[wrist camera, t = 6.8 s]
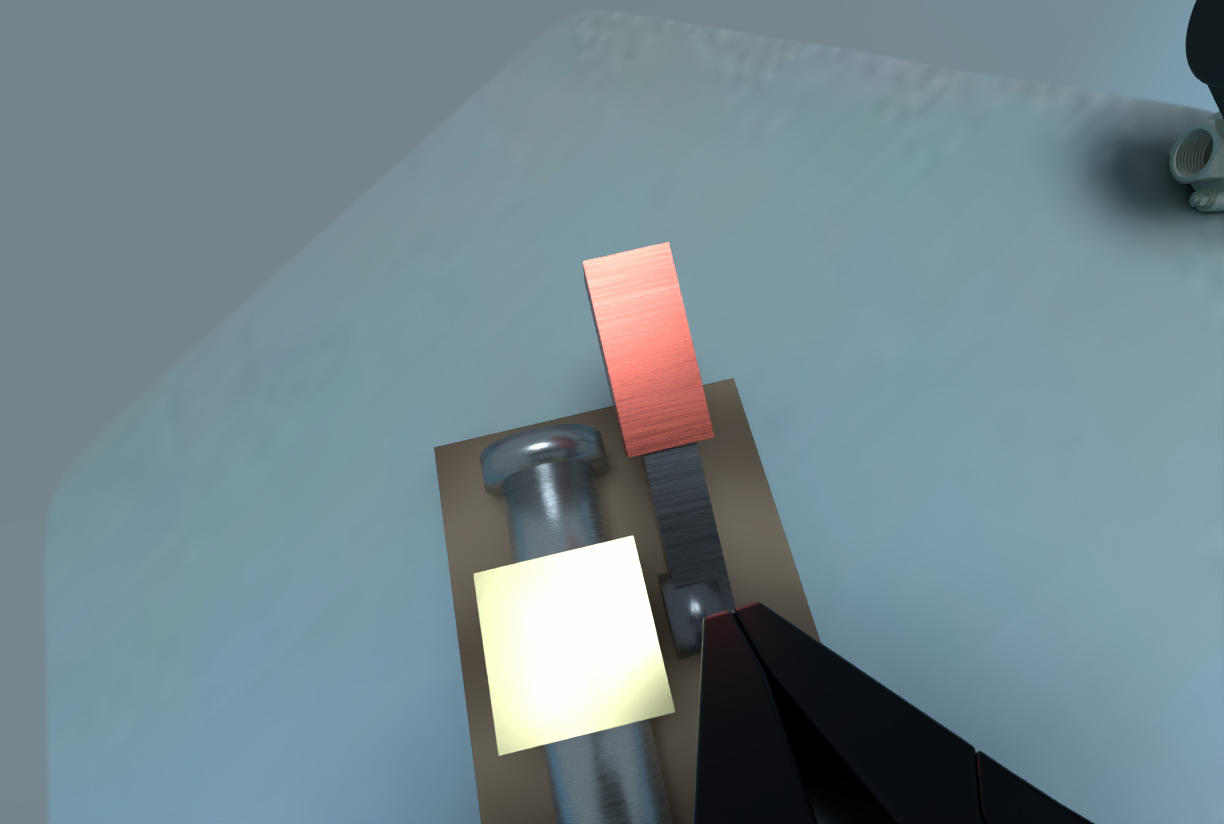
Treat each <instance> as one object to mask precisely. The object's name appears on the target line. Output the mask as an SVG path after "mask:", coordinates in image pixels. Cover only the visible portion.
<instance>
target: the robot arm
mask: <svg viewBox="0 0 1224 824" xmlns="http://www.w3.org/2000/svg"><path fill="white" fill-rule="evenodd" d="M693 824H1094V823H1093V822H1091V821H1089V820H1088V819H1086V818H1084V817H1083V816H1081V815H1079V814H1077V813H1076V812H1074V811H1072V810H1071V809H1069V808H1067V807H1066V806H1064V805H1062V804H1061V803H1059V802H1058V801H1056V800H1054V799H1053V798H1051V797H1050V796H1048V795H1047V794H1045V793H1044V792H1042V791H1041V790H1039V789H1037V788H1036V787H1034V786H1033V785H1031V784H1030V783H1028V782H1027V781H1025V780H1024V779H1022V778H1020V777H1019V776H1017V775H1016V774H1014V773H1013V772H1011V771H1010V770H1008V769H1007V768H1005V767H1004V766H1002V765H1001V764H999V763H998V762H996V761H995V760H993V759H992V758H990V757H989V756H988V755H986V754H985V753H983V752H981V751H978V752H977V753H976V751H975V748H974V746H972V745H971V744H969V743H968V742H966V741H965V740H964V739H962V738H961V737H959V736H958V735H956V734H955V733H953V732H952V731H950V730H949V729H947V728H946V727H944V726H943V725H941V724H940V723H938V722H937V721H935V720H934V719H933V718H931V717H930V716H928V715H927V714H925V713H924V712H922V711H921V710H919V709H918V708H916V707H915V706H913V705H912V704H910V703H909V702H907V701H906V700H904V699H903V698H902V697H900V696H899V695H897V694H896V693H894V692H893V691H891V690H890V689H888V688H887V687H885V686H884V685H882V684H881V683H879V682H878V681H876V680H875V679H873V678H872V677H870V676H869V675H868V674H866V673H865V672H863V671H862V670H860V669H859V668H857V667H856V666H854V665H853V664H851V663H850V662H848V661H847V660H845V659H844V658H842V657H841V656H839V655H838V654H837V653H835V652H834V651H832V650H831V649H829V648H828V647H826V646H825V645H823V644H822V643H820V642H819V641H817V640H816V639H814V638H813V637H811V636H810V635H808V634H807V633H805V632H804V631H803V630H801V629H800V628H798V627H797V626H795V625H794V624H792V623H791V622H789V621H788V620H786V619H785V618H783V617H782V616H780V615H779V614H777V613H776V612H774V611H773V610H772V609H770V608H769V607H767V606H766V605H764V604H763V603H761V602H752V603H749V604H745V605H742V606H739V607H736V608H734V609H733V611H732V612H731V611H729V610H725V611H721V612H718V613H714V614H711V615H708V616H706V617H705V618H704V620H703V635H702V654H701V673H700V693H699V712H698V731H697V751H696V770H695V789H694V809H693Z"/></svg>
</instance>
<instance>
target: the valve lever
mask: <svg viewBox="0 0 1224 824" xmlns="http://www.w3.org/2000/svg"><path fill="white" fill-rule="evenodd" d="M583 269H584V281H585V286H586V290H587V294H588V299H589V303H590V307H591V312H592V316H593V320H594V325H595V329H596V333H597V337H598V342H599V346H600V350H601V355H602V359H603V363H604V367H605V372H606V376H607V380H608V385H609V389H610V393H611V398H612V402H613V406H614V410H615V415H616V419H617V423H618V428H619V432H620V436H621V441H622V445H623V449H624V453H625V454H626V455H627V457H628V458H629V457H633V456H637V455H640V456H641V461H642V465H643V469H644V474H645V478H646V482H647V486H648V491H649V495H650V499H651V504H652V508H653V512H654V516H655V521H656V525H657V529H658V534H659V538H660V542H661V546H662V551H663V555H664V559H665V564H666V568H667V573H662V574H658V575H657V576H658V582H659V587H660V592H661V597H662V601H663V605H664V610H665V614H666V618H667V622H668V626H669V630H670V634H671V637H672V641H673V645H674V648H675V652H676V655H677V658H678V660H682V659H686V658H690V657H694V656H698V655H701V654H702V635H703V620H704V618H705V617H706V616H708V615H711V614H714V613H718V612H721V611H725V610H729V611H732V610H733V609H734V608H736V607H735V603H734V599H733V595H732V590H731V586H730V582H729V578H728V573H727V569H726V565H725V560H724V556H723V552H722V548H721V543H720V539H719V535H718V531H717V526H716V522H715V518H714V514H713V509H712V505H711V501H710V496H709V492H708V488H707V484H706V479H705V475H704V471H703V467H702V462H701V458H700V454H699V450H698V445H697V441H701V440H706V439H710V438H714V433H713V428H712V424H711V420H710V416H709V411H708V407H707V403H706V399H705V394H704V390H703V386H702V381H701V377H700V373H699V369H698V364H697V360H696V356H695V352H694V347H693V343H692V339H691V335H690V330H689V326H688V322H687V318H686V313H685V309H684V305H683V301H682V296H681V292H680V288H679V284H678V279H677V275H676V271H675V266H674V262H673V258H672V254H671V249H670V245H669V242H667V243H663V244H658V245H654V246H649V247H645V248H640V249H636V250H632V251H627V252H623V253H618V254H614V255H609V256H605V257H600V258H596V259H592V260H587V261H583Z"/></svg>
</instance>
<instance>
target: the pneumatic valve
mask: <svg viewBox="0 0 1224 824" xmlns="http://www.w3.org/2000/svg"><path fill="white" fill-rule="evenodd" d="M1186 57H1187V61H1188V65H1189V67H1190V69H1191V71H1192V73H1193V74H1194V75H1195V77H1196V78H1197V79H1199V80H1200V81H1201V82H1203V83H1205V84H1207V85H1208V87H1209V89H1210V91H1211V93H1212V95H1213V97H1214V100H1215V102H1216V104H1217V106H1218V108H1219V110H1220V111H1219V112H1217V113H1216V114H1215V115H1214V116H1212V117H1211V118H1210V119H1209V120H1208V121H1204V122H1200V123H1197V124H1194V125H1192V126H1190V127H1188V128H1187V129H1186V130H1185V131H1184V132H1183V133H1182V134H1181V135H1180V137H1179V138H1178V139H1177V141H1176V143H1175V144H1174V145H1173V146H1172V148H1171V149H1170V151H1169V154H1170V169H1171V172H1172V174H1173V176H1174V177H1175V179H1176V180H1177V181H1178V182H1179V183H1180V184H1191V186H1192V187H1193V188H1194V190H1195V191H1196V192H1194V193H1193V194H1192V195H1191V197H1190V198H1189V202H1190V204H1191V206H1192V207H1196V209H1197V210H1199V211H1201V212H1203V211H1224V0H1196V3H1195V5H1194V8H1193V10H1192V14H1191V17H1190V20H1189V24H1188V28H1187V34H1186Z"/></svg>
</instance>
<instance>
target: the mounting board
mask: <svg viewBox="0 0 1224 824" xmlns="http://www.w3.org/2000/svg"><path fill="white" fill-rule="evenodd" d="M702 386H703V390H704V394H705V399H706V403H707V407H708V411H709V416H710V420H711V424H712V428H713V433H714V438H710V439H706V440H701V441H697V445H698V450H699V454H700V458H701V462H702V467H703V471H704V475H705V479H706V484H707V488H708V492H709V496H710V501H711V505H712V509H713V514H714V518H715V522H716V526H717V531H718V535H719V539H720V543H721V548H722V552H723V556H724V560H725V565H726V569H727V573H728V578H729V582H730V586H731V590H732V595H733V599H734V603H735V607H739V606H742V605H745V604H749V603H752V602H761V603H763V604H764V605H766V606H767V607H769V608H770V609H772V610H773V611H774V612H776V613H777V614H779V615H780V616H782V617H783V618H785V619H786V620H788V621H789V622H791V623H792V624H794V625H795V626H797V627H798V628H800V629H801V630H803V631H804V632H805V633H807V634H808V635H810V636H811V637H813V638H814V639H816V640H817V641H819V642H820V639H819V636H818V633H817V630H816V627H815V624H814V621H813V618H812V615H811V612H810V609H809V606H808V603H807V600H806V596H805V593H804V590H803V587H802V584H801V581H800V578H799V575H798V572H797V569H796V566H795V563H794V560H793V557H792V554H791V551H790V548H789V545H788V542H787V539H786V536H785V533H784V530H783V527H782V524H781V521H780V518H779V515H778V512H777V509H776V506H775V503H774V500H773V497H772V493H771V490H770V487H769V484H768V481H767V478H766V475H765V472H764V469H763V466H762V463H761V460H760V457H759V454H758V451H757V448H756V445H755V442H754V439H753V436H752V433H751V430H750V427H749V424H748V421H747V418H746V415H745V412H744V409H743V406H742V403H741V400H740V397H739V393H738V390H737V387H736V384H735V381H734V378H732V379H727V380H723V381H719V382H715V383H710V384H706V385H702ZM557 424H580V425H586V426H590V427H593V428H596V429H597V430H599V431H600V432H601V435H602V438H603V443H604V447H605V451H606V455H607V460H608V468H607V470H606V471H605V472H604V473H603V474H602V475H600V476H599V477H597V478H596V482H597V486H598V491H599V495H600V500H601V504H602V509H603V513H604V517H605V522H606V526H607V531H608V535H609V540H610V541H612V540H616V539H621V538H625V537H629V536H633V537H634V541H635V545H636V549H637V554H638V558H639V562H640V566H641V570H642V574H643V579H644V583H645V587H646V591H647V595H648V600H649V604H650V608H651V612H652V616H653V621H654V625H655V629H656V633H657V637H658V642H659V646H660V650H661V654H662V658H663V662H664V667H665V671H666V675H667V679H668V683H669V688H670V692H671V696H672V700H673V704H674V709H675V712H674V713H670V714H666V715H662V716H658V717H654V718H650V723H651V727H652V732H653V736H654V741H655V745H656V750H657V754H658V759H659V763H660V768H661V772H662V777H663V781H664V786H665V790H666V795H667V799H668V803H669V808H670V812H671V817H672V821H673V824H693V809H694V789H695V770H696V751H697V731H698V712H699V693H700V673H701V655H698V656H694V657H690V658H686V659H682V660H678V658H677V655H676V652H675V648H674V645H673V641H672V637H671V634H670V630H669V626H668V622H667V618H666V614H665V610H664V605H663V601H662V597H661V592H660V587H659V582H658V576H657V575H658V574H662V573H667V568H666V564H665V559H664V555H663V551H662V546H661V542H660V538H659V534H658V529H657V525H656V521H655V516H654V512H653V508H652V504H651V499H650V495H649V491H648V486H647V482H646V478H645V474H644V469H643V465H642V461H641V456H640V455H637V456H633V457H629V458H628V457H627V455H626V454H625V453H624V449H623V445H622V441H621V436H620V432H619V428H618V423H617V419H616V415H615V410H614V406H611V407H607V408H602V409H598V410H594V411H590V412H585V413H581V414H577V415H572V416H568V417H564V418H559V419H555V420H551V421H546V422H542V423H538V424H534V425H529V426H525V427H521V428H516V429H512V430H508V431H503V432H499V433H495V434H490V435H486V436H482V437H477V438H473V439H469V440H465V441H460V442H456V443H452V444H447V445H443V446H439V447H434V451H435V459H436V466H437V474H438V482H439V490H440V498H441V506H442V514H443V522H444V530H445V538H446V546H447V554H448V562H449V570H450V578H451V586H452V594H453V602H454V610H455V618H456V626H457V634H458V642H459V649H460V657H461V665H462V673H463V681H464V689H465V697H466V705H467V713H468V721H469V729H470V737H471V745H472V753H473V761H474V769H475V777H476V785H477V793H478V801H479V809H480V817H481V824H556V822H555V815H554V809H553V803H552V797H551V791H550V785H549V779H548V773H547V767H546V760H545V754H544V748H543V745H540V746H536V747H532V748H528V749H524V750H520V751H516V752H512V753H508V754H504V755H500V756H499V755H498V747H497V740H496V733H495V726H494V719H493V712H492V704H491V697H490V690H489V683H488V676H487V669H486V661H485V654H484V647H483V640H482V633H481V625H480V618H479V611H478V604H477V597H476V590H475V582H474V575H473V574H474V573H478V572H482V571H486V570H491V569H495V568H499V567H503V566H507V565H511V564H513V559H512V553H511V547H510V541H509V535H508V528H507V522H506V516H505V510H504V504H503V498H501V497H496V496H492V495H490V494H488V493H487V492H486V491H485V488H484V482H483V475H482V469H481V462H480V455H481V453H482V452H483V451H484V449H485V448H487V447H488V446H489V445H491V444H492V443H494V442H496V441H497V440H499V439H501V438H504V437H506V436H509V435H511V434H514V433H517V432H520V431H524V430H528V429H532V428H536V427H542V426H548V425H557ZM732 611H733V610H732ZM732 611H731V612H732ZM820 643H821V642H820Z"/></svg>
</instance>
